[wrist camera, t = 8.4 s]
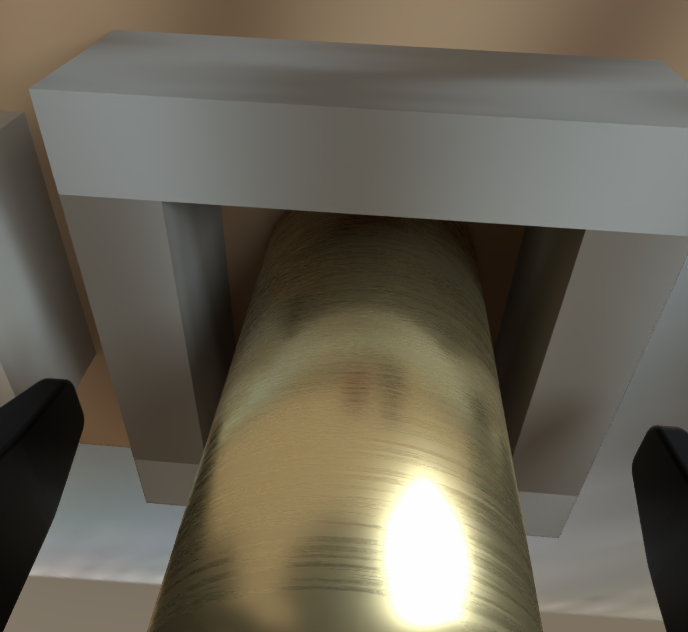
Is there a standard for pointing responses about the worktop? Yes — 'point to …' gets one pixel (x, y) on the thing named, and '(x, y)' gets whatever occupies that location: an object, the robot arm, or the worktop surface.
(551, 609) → the worktop surface
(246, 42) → the jig
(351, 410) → the cylinder
